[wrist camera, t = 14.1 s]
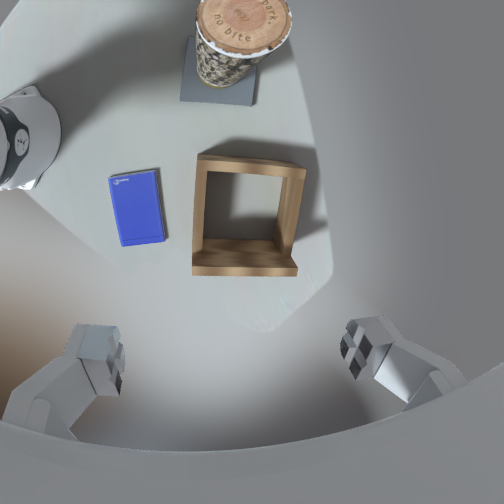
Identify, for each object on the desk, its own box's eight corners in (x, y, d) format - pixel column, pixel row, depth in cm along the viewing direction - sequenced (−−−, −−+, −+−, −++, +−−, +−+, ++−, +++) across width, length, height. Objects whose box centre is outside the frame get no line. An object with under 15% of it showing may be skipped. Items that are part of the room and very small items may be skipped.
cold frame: (192, 245, 50) (192, 275, 41) (197, 154, 43) (197, 164, 34) (279, 248, 53) (296, 276, 45) (293, 162, 47) (316, 175, 38)
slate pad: (180, 101, 39) (179, 100, 38) (188, 37, 34) (188, 36, 33) (250, 106, 41) (251, 106, 40) (258, 44, 36) (259, 42, 35)
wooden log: (224, 41, 34) (256, -32, 13) (250, 73, 38) (310, 31, 16) (187, 65, 35) (176, 9, 14) (214, 97, 39) (233, 74, 17)
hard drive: (107, 178, 41) (121, 247, 47) (155, 170, 42) (165, 241, 48) (110, 176, 42) (123, 243, 48) (156, 169, 43) (166, 238, 49)
